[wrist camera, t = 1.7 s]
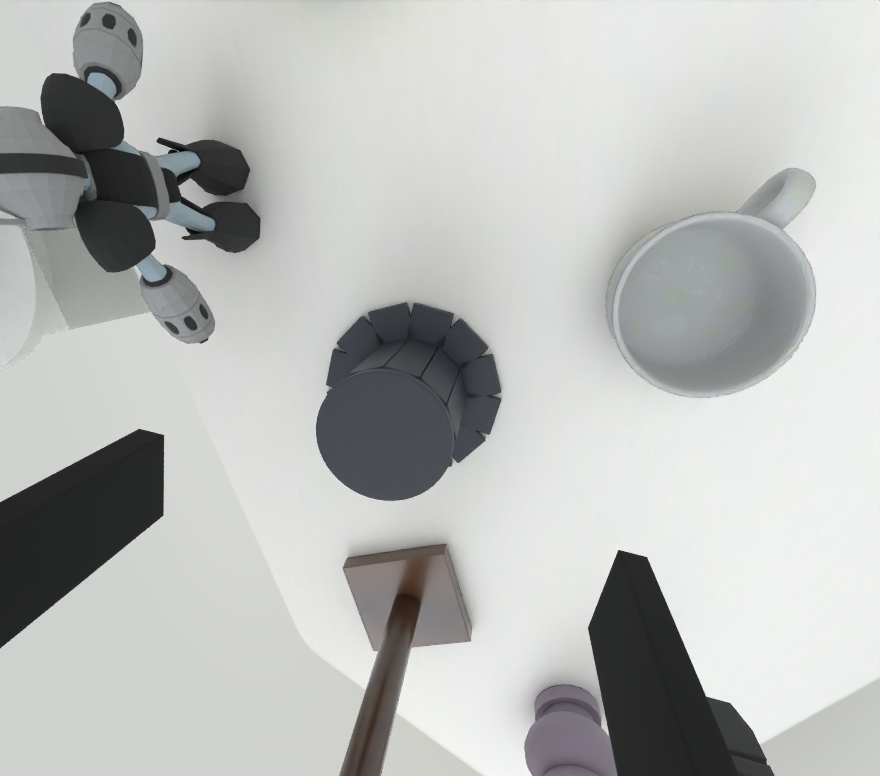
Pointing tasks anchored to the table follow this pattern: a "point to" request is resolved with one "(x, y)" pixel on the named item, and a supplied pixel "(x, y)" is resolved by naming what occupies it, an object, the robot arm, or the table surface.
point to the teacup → (716, 295)
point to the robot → (118, 174)
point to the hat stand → (398, 635)
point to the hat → (405, 401)
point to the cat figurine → (568, 736)
